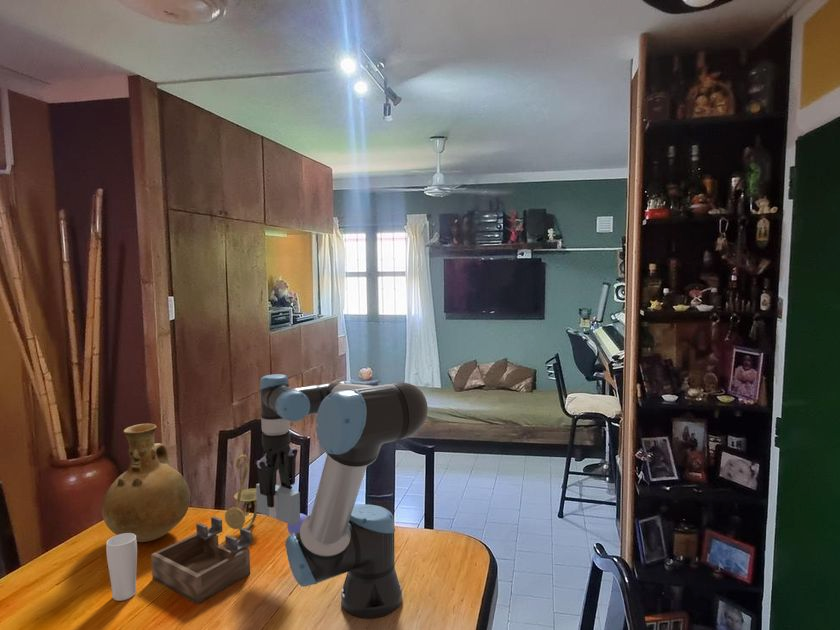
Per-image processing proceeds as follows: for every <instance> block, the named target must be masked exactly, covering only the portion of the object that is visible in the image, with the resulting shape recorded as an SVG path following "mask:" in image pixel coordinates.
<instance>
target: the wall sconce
mask: <svg viewBox="0 0 840 630" xmlns="http://www.w3.org/2000/svg"><path fill="white" fill-rule="evenodd" d="M242 458H243V459H244V464H245V465H244V470H243V474H242V477H241V481H240V483H239V489H238V492H236V493H235V494H234V496H233V498H234V499H235V500H236V505H235V507H231V508H229V509H227V510H226V512H225V513H224V520H225V523H226V525H227V526H228V527H229V528H231V529H233V530H239V531H240V529H241V528H244V529H247V530H249V529H250V528H252V526H253V524H254V523H255V521H256V518H257V515H258V512H257V498H256V487H255V488H246V489H243V487H244V484H245V481H246V478H247V473H248V470H249V459H248V456H247V455H245V454H241V455H239V456H238V458H237V459H236V461H235V467H236V469H237V470H240V469H242V467H243V464H242V463H240V462H241V460H242ZM242 502H243V506H242V510H241V508H240V505H241V504H240V503H242ZM251 502H253V503H254V510H253V511H254V512H253V516H252V518H251V520H250V522H249V523H248V524H247V525H246V527H243V526H244V525H245V523H246V517H247V516H248V515H249V514H250V511H246V509H247V505H248V509H250V508H252V503H251Z"/></svg>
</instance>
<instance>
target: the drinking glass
mask: <svg viewBox="0 0 840 630" xmlns="http://www.w3.org/2000/svg"><path fill="white" fill-rule="evenodd" d="M105 547H106V548H105V549H106V550H105V552H106V553H105V554H106V562H107V567H108V575H109V581H110V586H111V595H112V599H113V600H114V601H117V602H118V601H119V602H122V601H126V600H129V599H131V598H132V597H134V596H135V594H136V592H137V567H138V566H137V564H138V562H137V561H138V543H137V540H136V535H135V534H132V533H123V534H119V535H116V534H115V535H114V536H113V535H112V537H110V538H109V539H107V540H106V545H105Z"/></svg>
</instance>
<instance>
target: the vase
mask: <svg viewBox="0 0 840 630" xmlns="http://www.w3.org/2000/svg"><path fill="white" fill-rule="evenodd" d="M156 430H157V425H156V424H154V423H140V424H134V425H132V426H127V427H126V428H125V429H124V430H123V434H124V435H125V437H126V438H127V442H128V447H129V449H128V450H127V451H126V452H127V453H126V454H127V456H128V457H129V459H130V461H129V466H128V468H127V470H126V471H124V472H123V473H121V474H120V475H119V476H118V477H117V478H116V479H115V480H114V481H113V482H112V484H111V485H110V487H109V488H108V489H107V492H106V494H105V496H104V499H103V502H102V508H101V514H102V518H103V519H102V520H103V521H104V523H105V525H106V527H107V529H109V530H110V531H111V532H112V533H113V534H115V536H116V535H119V534H123V533H132V534H135V535H136V540H137V542H140V543H144V542H146V543H147V542H151V541H155V540H157V539H159V538H162V537H164V536H165V535H166V534H168V533H169V532H171V531H172V530H173V529H174V528H175V527H176V526H178V525H179V523H180V522H181V521H182V520H183V519H184V517H185V516H186V514H187V513H188V510H189V509H190V508H189V506H190V504H191V503H190V502H191V491H190V489H189V486H188V483H187V481H186V479H185V477H184V476H183V475H182V474H181V473H180V472H179V471H178V470H177V469H175V468H174V467H172V466H170V465H169V464H170V463H169V462H170V461H169V453H168V452H169V451H168V449H167V447H166V446H165V445H164V443H155V432H156Z"/></svg>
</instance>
